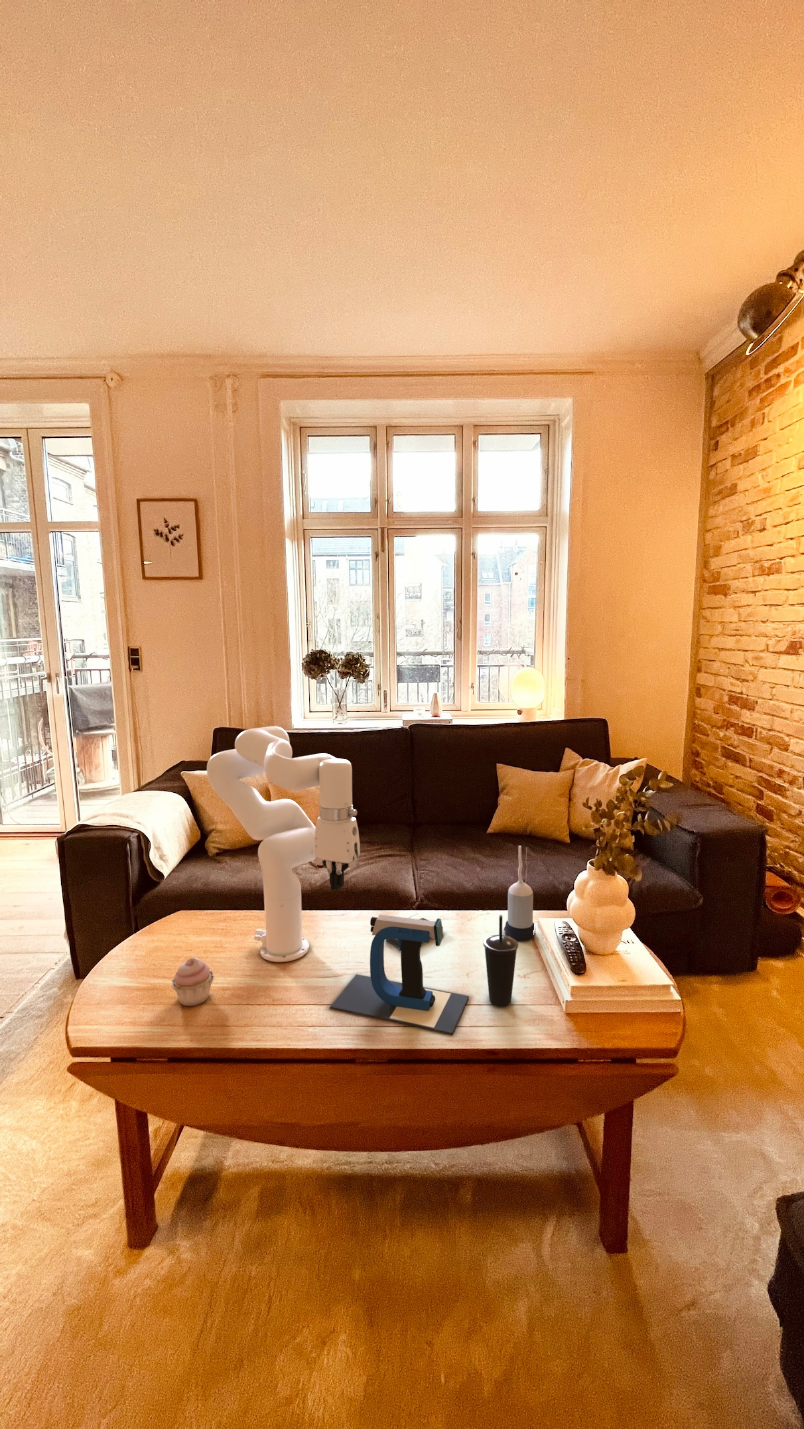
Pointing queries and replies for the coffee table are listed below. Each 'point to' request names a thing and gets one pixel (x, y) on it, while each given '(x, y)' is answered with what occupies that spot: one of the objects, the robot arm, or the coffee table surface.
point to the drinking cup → (500, 966)
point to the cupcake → (193, 982)
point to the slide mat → (368, 1003)
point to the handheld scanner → (403, 959)
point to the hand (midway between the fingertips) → (336, 888)
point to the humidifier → (520, 909)
